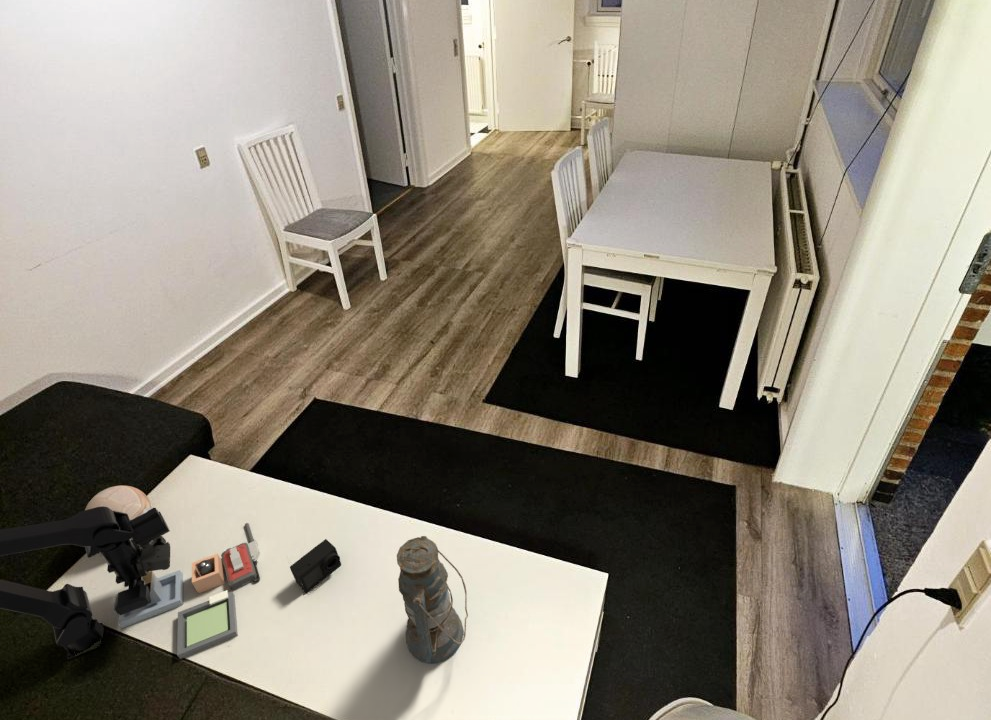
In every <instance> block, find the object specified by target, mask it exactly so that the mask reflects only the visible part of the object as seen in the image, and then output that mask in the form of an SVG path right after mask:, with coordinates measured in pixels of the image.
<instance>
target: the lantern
mask: <svg viewBox="0 0 991 720" xmlns="http://www.w3.org/2000/svg"><path fill="white" fill-rule="evenodd" d="M439 555H440V556H441V557H442V558H443V559H444V560H445V561H446V562H447V563H448V564H449V565H450V566H452V567H451V568H453V569H454V570H455V571H456V573H457V575H458V576H459V577H460V579H461V582H462V585H463V589H464V593H465V595H464V597H465V600H464V609H465V610H464V611H465V613H466V617H465V618H464V626H463V622H462V620H461V618H460V616H459V614H458V613H457V612H456V610H455V608H454V607H453V601H454V598H453V594H452V591H451V589H450V587H449V585H448V583H447V582H448V577H449V574H448V573H449V572H448V571H447V569H446V567H445V565H444V563H442V562H441V561H440V559H439ZM396 561H397V565H398V567H399V570H400V572H399V576H398V579H397V580H398V582H397V583H398V592H399V593H400V594H401V596H402V600H403V602H404V610H405V614H406V615H407V618H408V619H407V621H406V632H405V641H406V642H405V644H406V646H407V649H408V651H409V653H410V654H411V655H412V657H414V658H415V659H416V660H417V661H420V662H421V663H425V664H438V663H441V662H444V661H447V660H449V658H451V657H452V656H453V655H455V654H456V652H457V651H458V650H459V648H460V647H461V645H462V644H463V643H464V641H465V639H466V636H467V635H466V634H467V619H468V617H469V615H468V614H469V613H468V609H467V607H468V606H467V605H468V604H467V600H468V599H467V587H466V584H465V580H464V579H463V576H462V575H461V572H459V570H458V569H457V567H455V566H454V564H452V562H451V561H450V560H449V559H448V558H447V557H446V556H445V555H444V554H443V553H442V552H441V551H440V550H439V549H438V545H437V544H436V542H434V541H433V540H431V539H429V538H428V537H427V536H426V535H421V536H420V537H419V536H418V537H414V538H411V539H408V540H406V542H405V543H403V544H402V545H401V546H400V547H399V548H398V551H397V554H396Z"/></svg>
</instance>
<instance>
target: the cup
mask: <svg viewBox="0 0 991 720" xmlns="http://www.w3.org/2000/svg"><path fill="white" fill-rule="evenodd" d="M203 560H208V561H209V562H210V564H211V565H212V567H213V569H214V571H215V572H212V573H209V574H207V575H204V576H202V575H201V574H200V572H199V570H198V568H197V566H198V564H199V563H200V562H201V561H203ZM225 581H226V580H225V568H224V567H223V562H222V559H221V557H220V555H219V554H218V553H215V554H212V555H210V556H207V557H204V558H202V559H199V560H196V561H194V562H192V563H191V584H192V586H193V587H194V589H195V590H196V592H197V593H198V594H201V593H204V592H207V591H210V590H212V589H214V588H217V587H220V586H222V585H225V584H226V582H225Z"/></svg>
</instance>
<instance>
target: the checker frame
mask: <svg viewBox="0 0 991 720" xmlns="http://www.w3.org/2000/svg"><path fill="white" fill-rule="evenodd" d="M208 598H209V599H208V600H206V601H204V602H202V603H199V604H196V605H194V606H193V605H192V606H191V607H188V608H186V609H185V608H184V609H183V610H181V611H178V612H177V638H176V639H177V641H176V642H177V645H176V646H177V649H176V652H177V654H176V655H177V657H178V658H179V660H183V659H184V658H187V657H189V656H191V655H193V654H197V653H198V652H201V651H203V650H206V649H208V648H211V647H213V646H216V645H218V644H221V643H224V642H225V641H227V640H228V641H229V640H231V639H232V638H235V637H237V636H238V635H239V634H238V624H237V623H238V621H237V610H236V609H237V608H236V597H235V593H234V591H228V589H227V590H223V591H221V592H218V593H216V594H213V595H211V596H209V597H208ZM225 602H227V603H228V617H229V630H228V631H226V632H223V633H221V634H218V635H216V636H213V637H211V638H208V639H206V640H204V641H201V642H199V643H196V644H194V645H191V646H189V647H187V646H186V619H187V617H189V616H192V615H194V614H197V613H199V612H202V611H204V610H207V609H210V608H212V607H215V606H217V605H220V604H222V603H225Z"/></svg>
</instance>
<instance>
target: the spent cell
mask: <svg viewBox="0 0 991 720" xmlns="http://www.w3.org/2000/svg"><path fill="white" fill-rule="evenodd" d="M197 568H198V570H199V572H200V574H201V575H202V576H204V575H207V574H209V573H212V572H215V571H214V569H213V567H212V565H211V564H210V562H209V561H208V560H203V561H201V562H200V563H199V564H198V566H197Z"/></svg>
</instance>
